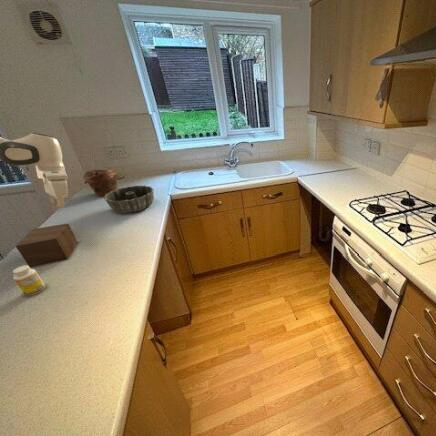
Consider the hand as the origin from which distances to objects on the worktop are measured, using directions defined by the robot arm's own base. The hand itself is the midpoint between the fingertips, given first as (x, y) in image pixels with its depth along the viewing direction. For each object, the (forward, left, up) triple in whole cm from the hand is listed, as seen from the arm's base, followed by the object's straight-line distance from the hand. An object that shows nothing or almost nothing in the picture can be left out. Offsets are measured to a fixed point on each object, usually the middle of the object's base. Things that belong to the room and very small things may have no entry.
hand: (58, 205), depth 106 cm
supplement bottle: (-5, -32, -21) cm, 38 cm away
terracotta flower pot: (-1, +73, -21) cm, 76 cm away
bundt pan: (+20, +37, -21) cm, 47 cm away
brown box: (-7, -6, -21) cm, 22 cm away
